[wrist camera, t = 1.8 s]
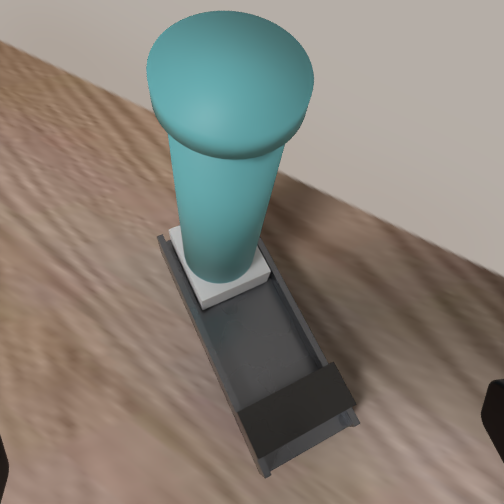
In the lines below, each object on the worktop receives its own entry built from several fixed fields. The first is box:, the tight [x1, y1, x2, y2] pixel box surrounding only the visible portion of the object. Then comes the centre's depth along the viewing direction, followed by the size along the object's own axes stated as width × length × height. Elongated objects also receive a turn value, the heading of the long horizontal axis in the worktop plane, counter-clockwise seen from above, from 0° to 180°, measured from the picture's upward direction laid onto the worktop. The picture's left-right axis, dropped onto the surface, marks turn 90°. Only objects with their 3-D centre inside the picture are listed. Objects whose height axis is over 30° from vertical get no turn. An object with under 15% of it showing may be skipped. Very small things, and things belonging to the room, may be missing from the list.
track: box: [157, 234, 360, 478], centre depth 20 cm, size 12×5×3 cm, turn 26°
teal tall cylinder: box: [146, 11, 314, 310], centre depth 16 cm, size 4×4×13 cm
